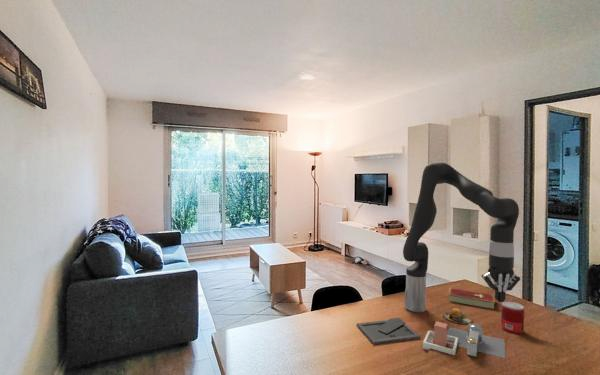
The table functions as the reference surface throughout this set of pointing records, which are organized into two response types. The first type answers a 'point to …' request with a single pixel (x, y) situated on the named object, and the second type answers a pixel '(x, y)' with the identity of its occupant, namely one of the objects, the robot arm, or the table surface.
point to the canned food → (512, 317)
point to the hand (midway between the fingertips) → (500, 301)
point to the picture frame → (387, 331)
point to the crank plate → (485, 346)
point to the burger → (457, 316)
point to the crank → (473, 338)
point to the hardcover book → (471, 298)
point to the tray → (428, 344)
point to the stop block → (440, 334)
